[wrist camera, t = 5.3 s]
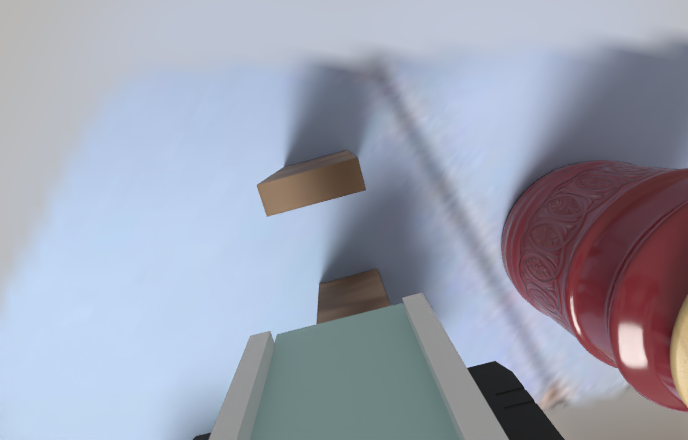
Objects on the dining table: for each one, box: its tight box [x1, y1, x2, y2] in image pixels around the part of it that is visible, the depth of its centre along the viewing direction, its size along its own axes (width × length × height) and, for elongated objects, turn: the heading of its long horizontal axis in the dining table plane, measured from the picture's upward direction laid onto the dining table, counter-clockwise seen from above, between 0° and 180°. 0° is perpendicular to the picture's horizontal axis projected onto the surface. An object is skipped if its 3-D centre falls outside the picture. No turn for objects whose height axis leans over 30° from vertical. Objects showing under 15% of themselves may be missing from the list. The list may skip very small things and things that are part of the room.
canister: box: [501, 160, 688, 413], centre depth 20 cm, size 13×13×18 cm
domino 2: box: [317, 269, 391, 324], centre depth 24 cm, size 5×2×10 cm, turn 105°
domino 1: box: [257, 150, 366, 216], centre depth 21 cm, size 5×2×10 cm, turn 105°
